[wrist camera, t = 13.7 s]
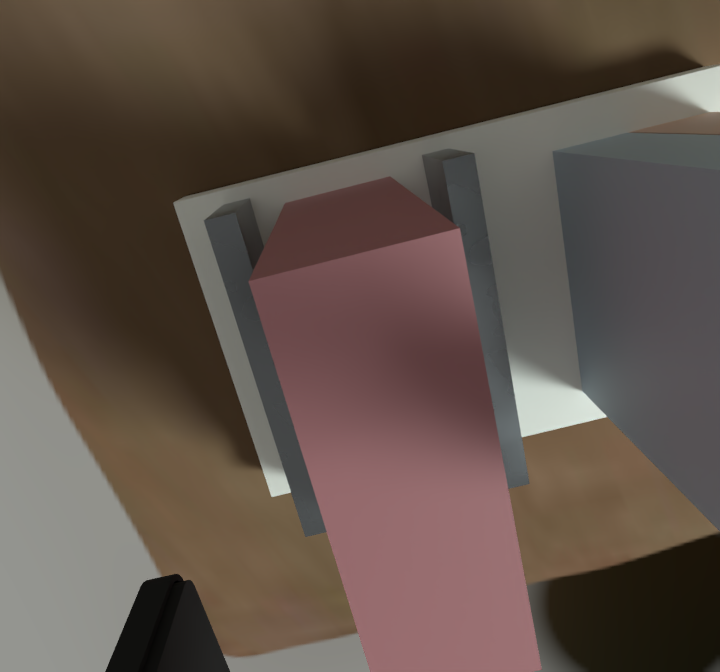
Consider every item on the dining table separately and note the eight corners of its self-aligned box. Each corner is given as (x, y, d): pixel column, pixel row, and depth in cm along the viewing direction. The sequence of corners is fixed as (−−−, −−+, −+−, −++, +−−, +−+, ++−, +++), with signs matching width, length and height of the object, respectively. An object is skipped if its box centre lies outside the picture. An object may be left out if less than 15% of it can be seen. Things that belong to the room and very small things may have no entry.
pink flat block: (390, 176, 22) (459, 227, 11) (446, 433, 26) (541, 669, 15) (285, 203, 23) (248, 281, 11) (355, 455, 26) (381, 707, 15)
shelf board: (704, 66, 24) (738, 61, 22) (717, 366, 28) (745, 383, 26) (184, 196, 24) (172, 202, 22) (275, 472, 29) (271, 497, 27)
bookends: (448, 148, 22) (474, 153, 19) (499, 432, 26) (529, 483, 22) (223, 204, 22) (203, 220, 19) (307, 478, 26) (305, 537, 23)
